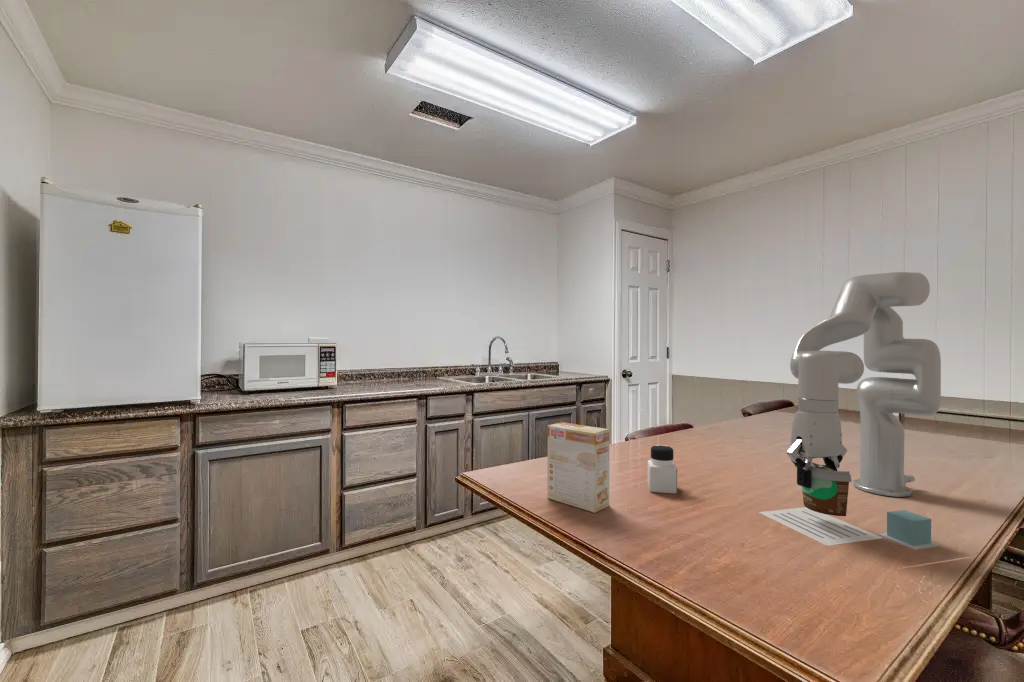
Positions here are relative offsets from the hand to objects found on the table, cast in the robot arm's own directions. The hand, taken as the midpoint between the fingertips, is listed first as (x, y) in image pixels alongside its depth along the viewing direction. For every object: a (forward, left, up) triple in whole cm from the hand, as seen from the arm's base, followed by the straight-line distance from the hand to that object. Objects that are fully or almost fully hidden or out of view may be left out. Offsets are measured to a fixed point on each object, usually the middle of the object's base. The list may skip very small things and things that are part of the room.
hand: (816, 484), depth 101 cm
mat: (-12, +11, -9) cm, 18 cm away
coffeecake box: (+47, -26, -9) cm, 55 cm away
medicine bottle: (+20, -30, -9) cm, 38 cm away
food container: (0, 0, -6) cm, 6 cm away
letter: (0, 0, -9) cm, 9 cm away
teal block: (-12, +11, -9) cm, 18 cm away
